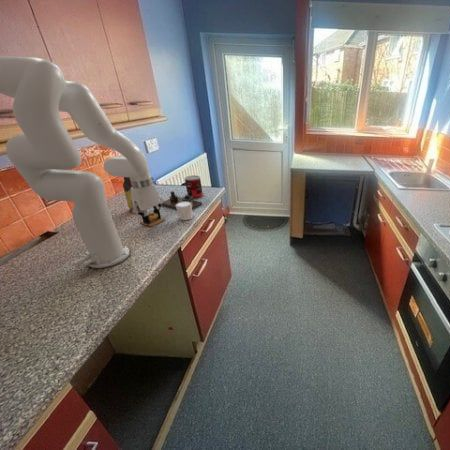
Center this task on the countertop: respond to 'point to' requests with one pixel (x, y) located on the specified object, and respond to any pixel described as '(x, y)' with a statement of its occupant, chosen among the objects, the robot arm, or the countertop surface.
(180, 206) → the white short cylinder
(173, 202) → the peg rack
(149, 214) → the brass ring
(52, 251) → the countertop surface
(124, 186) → the sauce bottle
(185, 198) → the wood ring
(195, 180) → the canned food
